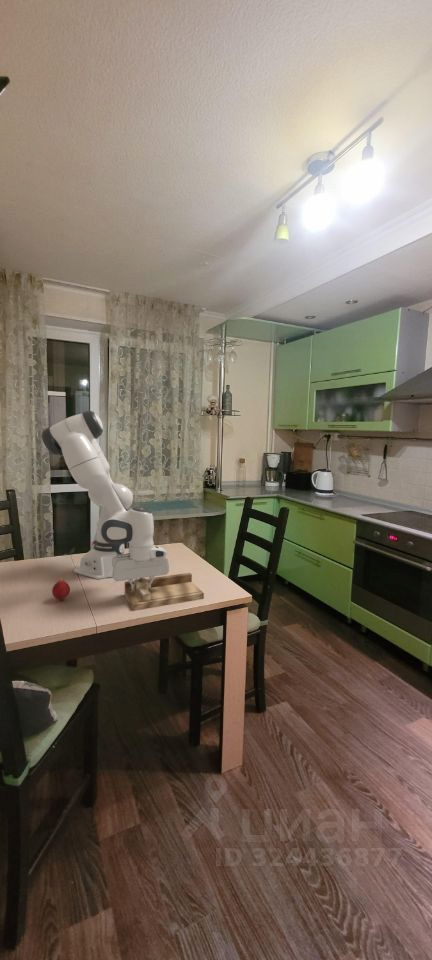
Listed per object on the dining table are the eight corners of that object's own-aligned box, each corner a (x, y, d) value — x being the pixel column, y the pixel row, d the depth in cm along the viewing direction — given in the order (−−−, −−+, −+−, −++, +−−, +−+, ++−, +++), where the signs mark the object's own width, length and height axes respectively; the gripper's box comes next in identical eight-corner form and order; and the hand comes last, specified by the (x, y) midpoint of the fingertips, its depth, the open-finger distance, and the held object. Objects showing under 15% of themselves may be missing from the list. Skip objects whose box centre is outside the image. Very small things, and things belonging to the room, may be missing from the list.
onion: (59, 605, 131) (58, 583, 131) (48, 601, 134) (48, 579, 134) (73, 599, 136) (73, 577, 136) (63, 595, 139) (62, 574, 139)
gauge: (141, 601, 131) (141, 587, 130) (134, 591, 140) (134, 577, 139) (152, 600, 133) (152, 585, 132) (145, 589, 142) (145, 576, 141)
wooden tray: (133, 610, 129) (133, 596, 128) (124, 594, 142) (124, 581, 141) (203, 598, 140) (203, 585, 140) (189, 584, 153) (189, 572, 152)
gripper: (113, 557, 130) (113, 596, 131) (170, 551, 139) (170, 587, 140) (110, 552, 136) (110, 589, 137) (165, 546, 144) (164, 581, 146)
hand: (141, 588), depth 139 cm, fingers closed on gauge, 4 cm apart
